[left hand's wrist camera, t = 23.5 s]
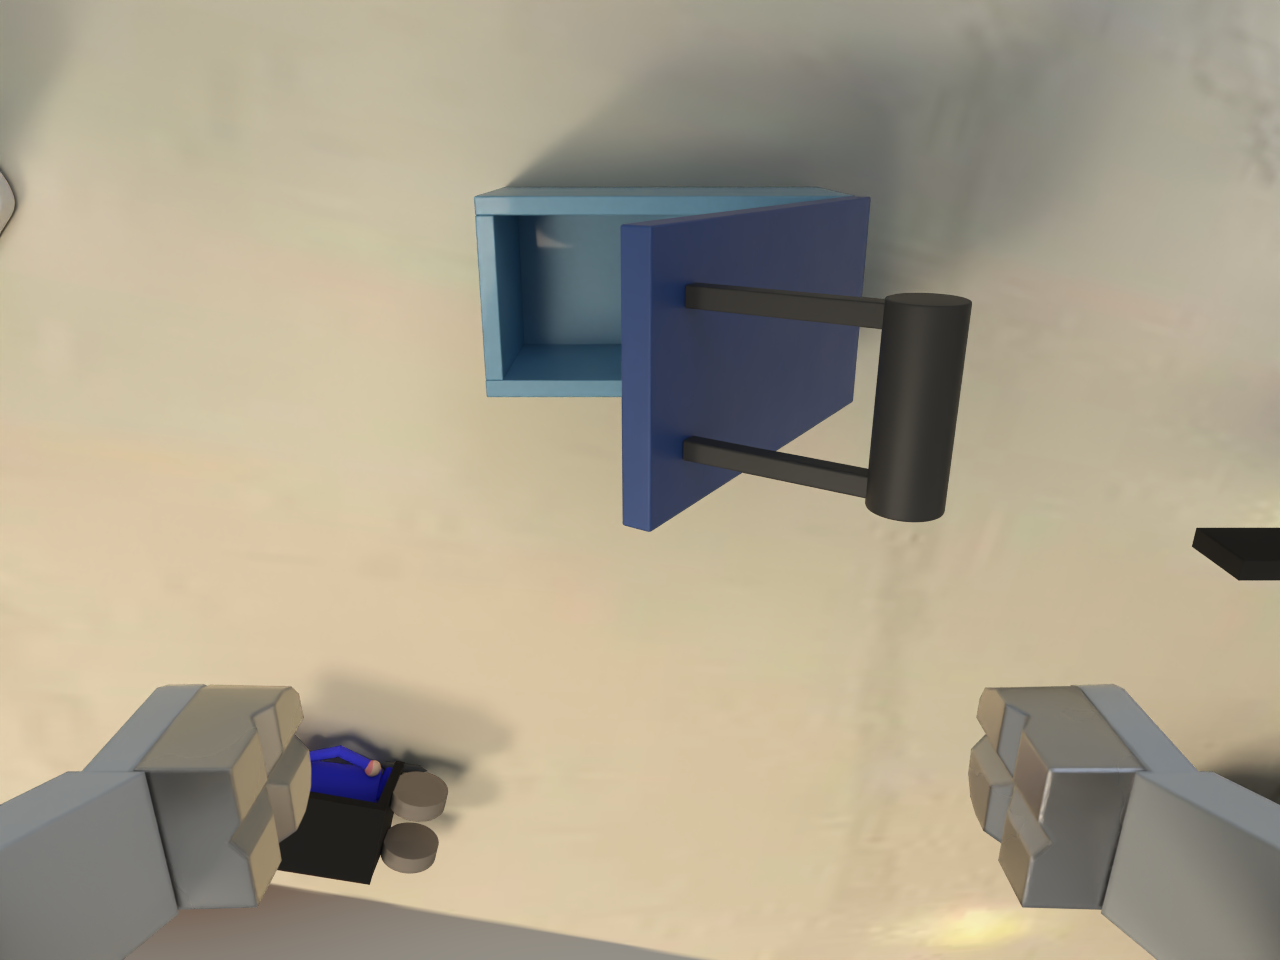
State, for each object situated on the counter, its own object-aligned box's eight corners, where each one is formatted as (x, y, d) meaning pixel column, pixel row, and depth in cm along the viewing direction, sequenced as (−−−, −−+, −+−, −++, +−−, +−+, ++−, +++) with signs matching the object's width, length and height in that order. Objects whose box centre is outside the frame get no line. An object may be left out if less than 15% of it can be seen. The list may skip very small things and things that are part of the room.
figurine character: (457, 736, 62) (232, 707, 59) (447, 814, 55) (192, 786, 52) (441, 810, 64) (224, 786, 61) (430, 894, 57) (185, 872, 54)
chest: (512, 355, 51) (486, 397, 43) (503, 187, 48) (473, 195, 39) (806, 355, 51) (839, 397, 43) (817, 187, 48) (856, 195, 39)
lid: (621, 525, 28) (912, 601, 23) (619, 224, 25) (956, 241, 20) (831, 398, 42) (1039, 430, 38) (847, 195, 39) (1077, 202, 34)
